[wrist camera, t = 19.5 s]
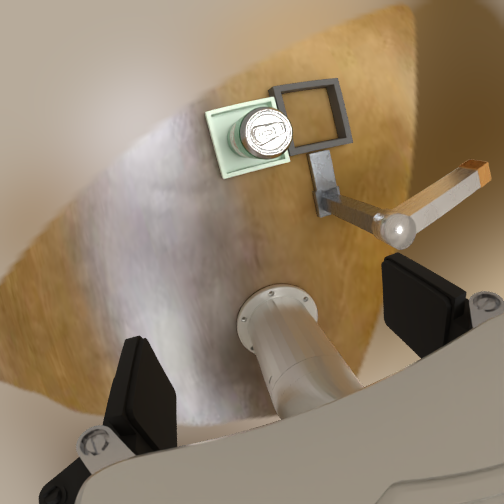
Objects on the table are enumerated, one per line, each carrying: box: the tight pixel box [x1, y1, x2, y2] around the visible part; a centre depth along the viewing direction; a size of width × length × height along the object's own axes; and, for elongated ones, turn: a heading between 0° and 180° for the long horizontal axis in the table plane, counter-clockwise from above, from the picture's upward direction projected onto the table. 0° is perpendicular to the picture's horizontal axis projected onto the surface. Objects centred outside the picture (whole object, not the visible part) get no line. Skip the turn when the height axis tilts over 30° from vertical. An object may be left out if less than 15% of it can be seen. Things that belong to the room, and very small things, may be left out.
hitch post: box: [307, 150, 382, 234], centre depth 34 cm, size 9×4×14 cm, turn 15°
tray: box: [205, 97, 290, 179], centre depth 36 cm, size 8×8×2 cm
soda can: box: [227, 107, 293, 160], centre depth 31 cm, size 5×5×12 cm
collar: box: [268, 78, 353, 156], centre depth 37 cm, size 9×9×2 cm
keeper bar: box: [372, 159, 491, 250], centre depth 27 cm, size 17×3×3 cm, turn 118°
